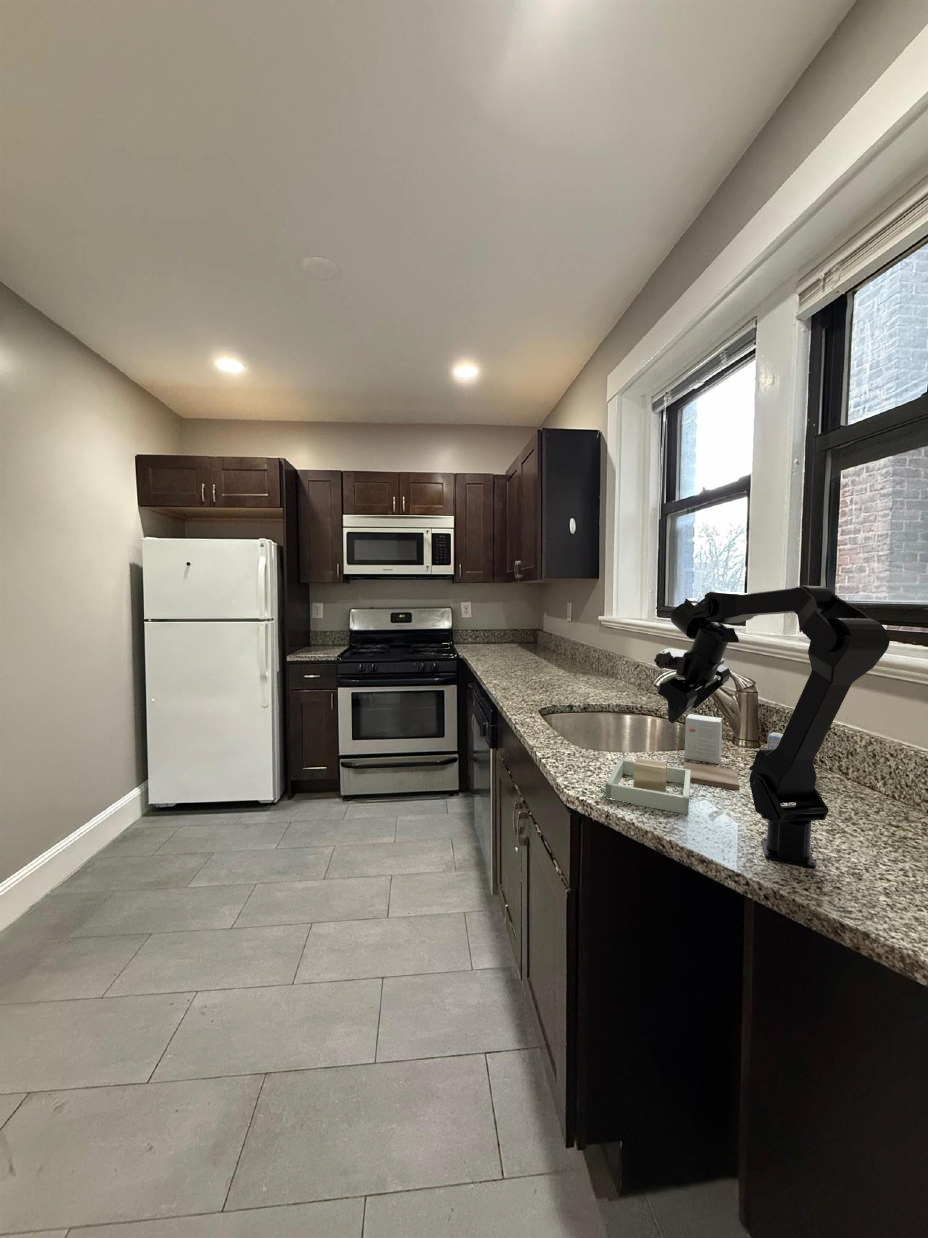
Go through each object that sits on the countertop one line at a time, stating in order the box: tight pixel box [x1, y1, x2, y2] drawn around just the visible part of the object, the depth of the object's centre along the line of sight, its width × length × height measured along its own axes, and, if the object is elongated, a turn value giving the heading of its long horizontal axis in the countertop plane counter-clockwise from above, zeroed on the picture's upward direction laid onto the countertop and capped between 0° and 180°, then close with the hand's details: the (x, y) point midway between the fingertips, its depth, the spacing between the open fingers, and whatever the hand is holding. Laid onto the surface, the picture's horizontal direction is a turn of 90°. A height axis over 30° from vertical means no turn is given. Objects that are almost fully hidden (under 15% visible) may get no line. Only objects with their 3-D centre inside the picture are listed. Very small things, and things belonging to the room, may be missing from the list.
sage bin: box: [605, 758, 691, 815], centre depth 105 cm, size 18×15×3 cm
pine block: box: [633, 757, 668, 793], centre depth 105 cm, size 4×6×6 cm
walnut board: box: [683, 761, 740, 790], centre depth 114 cm, size 11×11×1 cm
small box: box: [684, 713, 723, 765], centre depth 127 cm, size 8×6×10 cm
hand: (682, 714), depth 106 cm, fingers open, 9 cm apart
